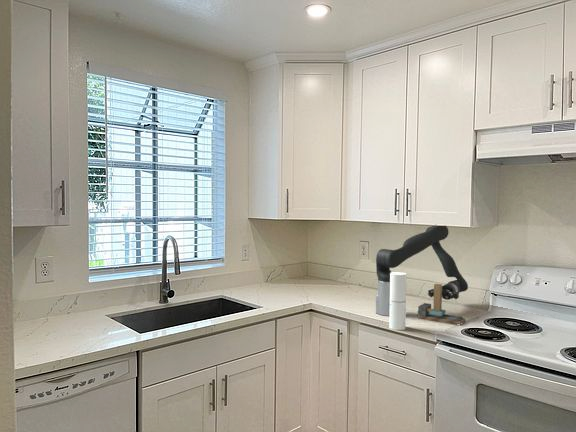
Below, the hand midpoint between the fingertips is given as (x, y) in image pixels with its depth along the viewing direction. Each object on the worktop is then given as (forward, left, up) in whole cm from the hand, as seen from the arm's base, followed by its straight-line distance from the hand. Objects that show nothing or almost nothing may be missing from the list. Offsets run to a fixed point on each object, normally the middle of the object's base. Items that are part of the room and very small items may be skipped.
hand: (439, 296), depth 212 cm
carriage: (0, -2, -8) cm, 8 cm away
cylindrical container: (-10, -28, -11) cm, 32 cm away
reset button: (-4, -2, -9) cm, 10 cm away
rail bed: (+2, -2, -11) cm, 11 cm away
